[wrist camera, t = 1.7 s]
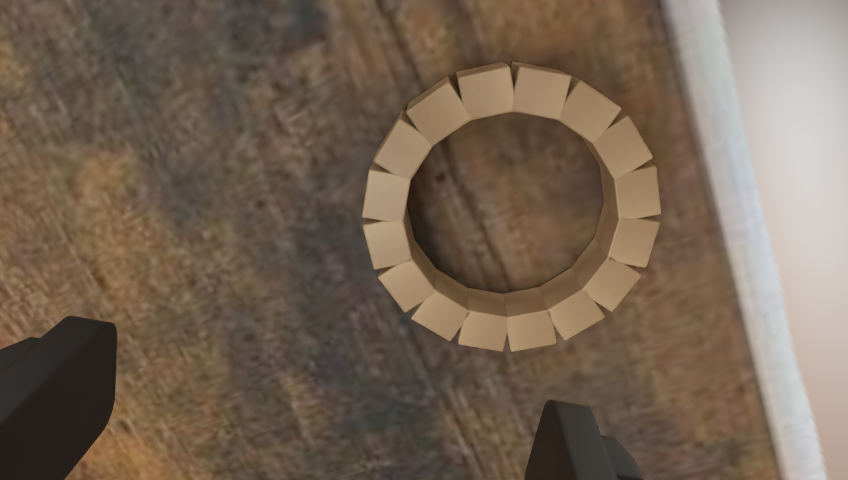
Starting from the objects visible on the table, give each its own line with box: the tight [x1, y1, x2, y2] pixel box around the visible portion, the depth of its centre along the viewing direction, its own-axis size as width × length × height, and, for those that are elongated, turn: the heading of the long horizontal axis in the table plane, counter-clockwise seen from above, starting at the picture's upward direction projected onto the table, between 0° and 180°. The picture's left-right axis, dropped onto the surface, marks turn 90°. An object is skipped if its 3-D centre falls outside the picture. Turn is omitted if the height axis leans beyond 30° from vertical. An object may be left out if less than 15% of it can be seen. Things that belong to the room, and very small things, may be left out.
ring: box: [362, 62, 661, 352], centre depth 26 cm, size 11×11×2 cm
